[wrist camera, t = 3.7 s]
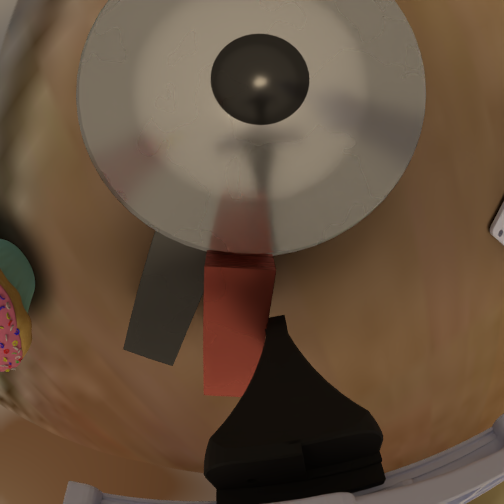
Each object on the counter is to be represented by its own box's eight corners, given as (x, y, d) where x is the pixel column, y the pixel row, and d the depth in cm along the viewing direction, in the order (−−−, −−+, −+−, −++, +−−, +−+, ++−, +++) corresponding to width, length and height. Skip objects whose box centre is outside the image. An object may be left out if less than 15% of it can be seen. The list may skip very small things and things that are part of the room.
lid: (135, -115, 4) (124, -136, 2) (415, -81, 5) (435, -96, 3) (120, 367, 14) (112, 393, 13) (336, 377, 15) (345, 403, 14)
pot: (433, 5, 10) (479, -8, 7) (258, 341, 19) (263, 391, 16) (212, -97, 7) (208, -138, 4) (66, 273, 16) (36, 314, 13)
